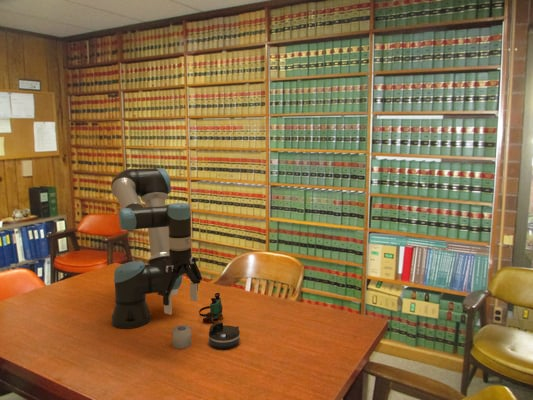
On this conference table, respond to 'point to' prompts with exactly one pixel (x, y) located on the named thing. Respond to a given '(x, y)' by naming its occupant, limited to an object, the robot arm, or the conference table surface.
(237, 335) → the black round base
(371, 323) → the conference table surface
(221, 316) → the binoculars
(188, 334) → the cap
